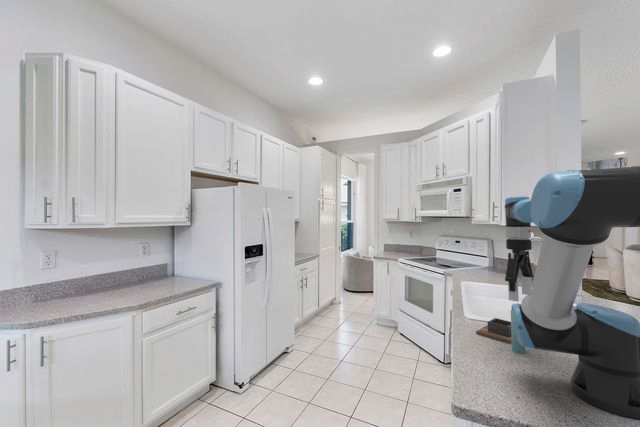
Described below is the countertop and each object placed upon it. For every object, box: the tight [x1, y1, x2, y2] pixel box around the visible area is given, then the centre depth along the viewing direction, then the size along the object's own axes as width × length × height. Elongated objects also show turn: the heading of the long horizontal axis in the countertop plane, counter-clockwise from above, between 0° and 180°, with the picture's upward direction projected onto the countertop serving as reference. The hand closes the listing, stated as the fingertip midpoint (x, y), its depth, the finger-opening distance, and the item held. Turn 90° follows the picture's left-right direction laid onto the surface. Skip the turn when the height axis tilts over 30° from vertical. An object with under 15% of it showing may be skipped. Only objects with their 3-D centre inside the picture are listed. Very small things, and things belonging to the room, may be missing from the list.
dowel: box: [510, 310, 527, 355], centre depth 99 cm, size 4×4×14 cm
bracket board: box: [475, 317, 512, 345], centre depth 113 cm, size 14×12×5 cm
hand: (520, 297), depth 99 cm, fingers open, 13 cm apart
